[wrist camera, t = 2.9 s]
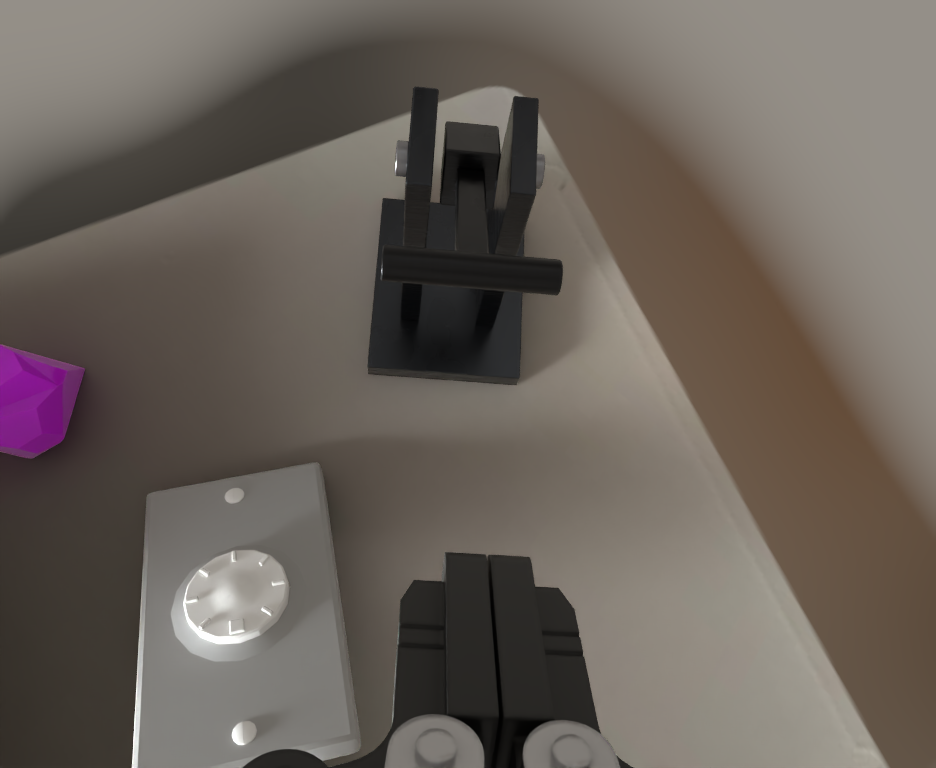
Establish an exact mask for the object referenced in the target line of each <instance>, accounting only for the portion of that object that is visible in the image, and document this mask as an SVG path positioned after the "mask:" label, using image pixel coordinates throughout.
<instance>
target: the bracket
mask: <svg viewBox="0 0 936 768" xmlns="http://www.w3.org/2000/svg"><path fill="white" fill-rule="evenodd" d="M437 106H438V89H435V88H425V87H414V88H413V98H412V110H411V123H410V135H409V141H400V140H399V141H397V147H396V160H395V175H396V176H403V177H406V185H405V200H399V199H388V198H383V202H382V213H381V224H380V235H379V246H378V257H377V268H376V279H375V290H374V301H373V312H372V323H371V334H370V345H369V355H368V374H375V375H388V376H401V377H414V378H428V379H441V380H454V381H468V382H481V383H494V384H508V385H517V383H518V381H519V378H520V354H521V322H522V292H510V291H498V290H486V289H474V288H462V287H450V286H438V285H426V284H414V283H402V282H389V281H382V280H381V262H382V250H383V246H384V245H394V246H406V247H417V248H429V249H440V250H452V251H454V245H455V206H452V205H442V204H440V203H432V202H430V199H431V189H432V176H433V162H434V148H435V134H436V120H437ZM537 138H538V98H528V97H518V96H514V98H513V103H512V107H511V112H510V116H509V121H508V125H507V129H506V134H505V138H504V143H503V147H502V152H501V159H500V166H499V174H498V181H497V188H496V196H495V203H494V208H493V209H487V226H488V247H489V254H498V255H510V256H522V257H524V230H525V227H526V224H527V221H528V218H529V215H530V211H531V208H532V205H533V202H534V199H535V196H536V189H540V188H541V186H542V183H543V178H544V170H545V157H544V155H543V154H537Z"/></svg>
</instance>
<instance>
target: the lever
mask: <svg viewBox="0 0 936 768" xmlns="http://www.w3.org/2000/svg"><path fill="white" fill-rule="evenodd" d="M500 159H501V151H500V139H499V128H498V127H497V126H489V125H479V124H469V123H458V122H446V124H445V135H444V147H443V158H442V169H441V189H440V204H442V205H452V206H455V245H454V251H452V250H440V249H429V248H417V247H406V246H394V245H384V246H383V250H382V262H381V280H382V281H389V282H402V283H414V284H426V285H438V286H450V287H462V288H474V289H486V290H498V291H510V292H522V293H534V294H546V295H558V294H559V292H560V289H561V284H562V276H563V265H562V261H561V260H557V259H545V258H533V257H522V256H510V255H498V254H489V247H488V226H487V209H493V208H494V203H495V196H496V188H497V181H498V174H499V166H500Z"/></svg>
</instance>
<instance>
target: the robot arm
mask: <svg viewBox="0 0 936 768" xmlns="http://www.w3.org/2000/svg"><path fill="white" fill-rule="evenodd" d="M243 768H633V767H631V766H630V765H628V764H627V763H625V762H624V761H622V760H621V759H620V758H619V757H618V756H617V755H616V754H615V751H614V749H613V748H612V746H611V745H610V743H609V742H608V741H607V740H606V739H605V738H604V737H603V736H602V735H601V733H600V730H599V726H598V722H597V717H596V712H595V707H594V702H593V697H592V693H591V688H590V683H589V678H588V673H587V668H586V663H585V659H584V657H583V649H582V644H581V639H580V637H579V629H578V625H577V620H576V615H575V610H574V608H573V607H572V605H571V604H570V603H569V601H568V600H567V599H566V597H565V596H564V595H563V593H562V592H561V591H560V589H559V588H550V587H535V584H534V577H533V571H532V564H531V559H530V557H523V556H506V555H488V558H487V557H486V555H485V554H469V553H453V552H445V555H444V562H443V571H442V581H423V580H414V581H413V582H412V584H411V585H410V587H409V588H408V590H407V591H406V593H405V594H404V596H403V597H402V599H401V601H400V614H399V627H398V639H397V652H396V664H395V680H394V696H393V713H392V726H391V729H390V732H389V733H388V735H387V737H386V738H385V740H384V741H383V742H382V743H381V744H380V745H379V746H378V747H377V748H376V749H375V750H374V751H372V752H371V753H369V754H368V755H366V756H364V757H362V758H360V759H357V760H354V761H351V762H347V763H344V764H340V765H336V766H332V767H327V765H326V764H325V763H324V762H323V761H322V760H321V759H319V758H318V757H316V756H315V755H313V754H310V753H308V752H306V751H302V750H297V749H279V750H274V751H270V752H267V753H264V754H262V755H260V756H258V757H256V758H254V759H253V760H252V761H250V762H249V763H247V764H246V765H245V766H244V767H243Z"/></svg>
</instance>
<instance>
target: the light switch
mask: <svg viewBox="0 0 936 768" xmlns="http://www.w3.org/2000/svg"><path fill="white" fill-rule="evenodd" d="M285 573H286V574H285ZM286 576H287V577H286ZM287 579H288V580H287ZM288 581H289V583H288ZM289 584H290V586H289ZM360 747H361V738H360V731H359V724H358V717H357V710H356V703H355V696H354V689H353V682H352V675H351V668H350V661H349V653H348V646H347V639H346V632H345V625H344V618H343V611H342V604H341V597H340V590H339V583H338V576H337V568H336V561H335V554H334V547H333V540H332V533H331V526H330V519H329V512H328V505H327V498H326V491H325V483H324V477H323V472H322V467H321V466H320V465H319V463H316V462H313V463H308V464H302V465H297V466H292V467H286V468H281V469H275V470H270V471H264V472H259V473H254V474H248V475H243V476H237V477H232V478H227V479H221V480H216V481H210V482H205V483H199V484H194V485H189V486H183V487H178V488H172V489H167V490H162V491H156V492H151V493H149V494H148V496H147V499H146V517H145V535H144V554H143V573H142V591H141V610H140V629H139V647H138V666H137V685H136V703H135V722H134V741H133V760H132V768H243V767H244V766H245V765H246V764H247V763H249V762H250V761H252V760H253V759H254V758H256V757H258V756H260V755H262V754H264V753H267V752H270V751H274V750H279V749H297V750H302V751H306V752H308V753H310V754H313V755H315V756H316V757H318V758H319V759H321V760H322V761H324V760H328V759H333V758H337V757H341V756H345V755H349V754H354V753H356V752H357V751H359V750H360Z"/></svg>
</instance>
